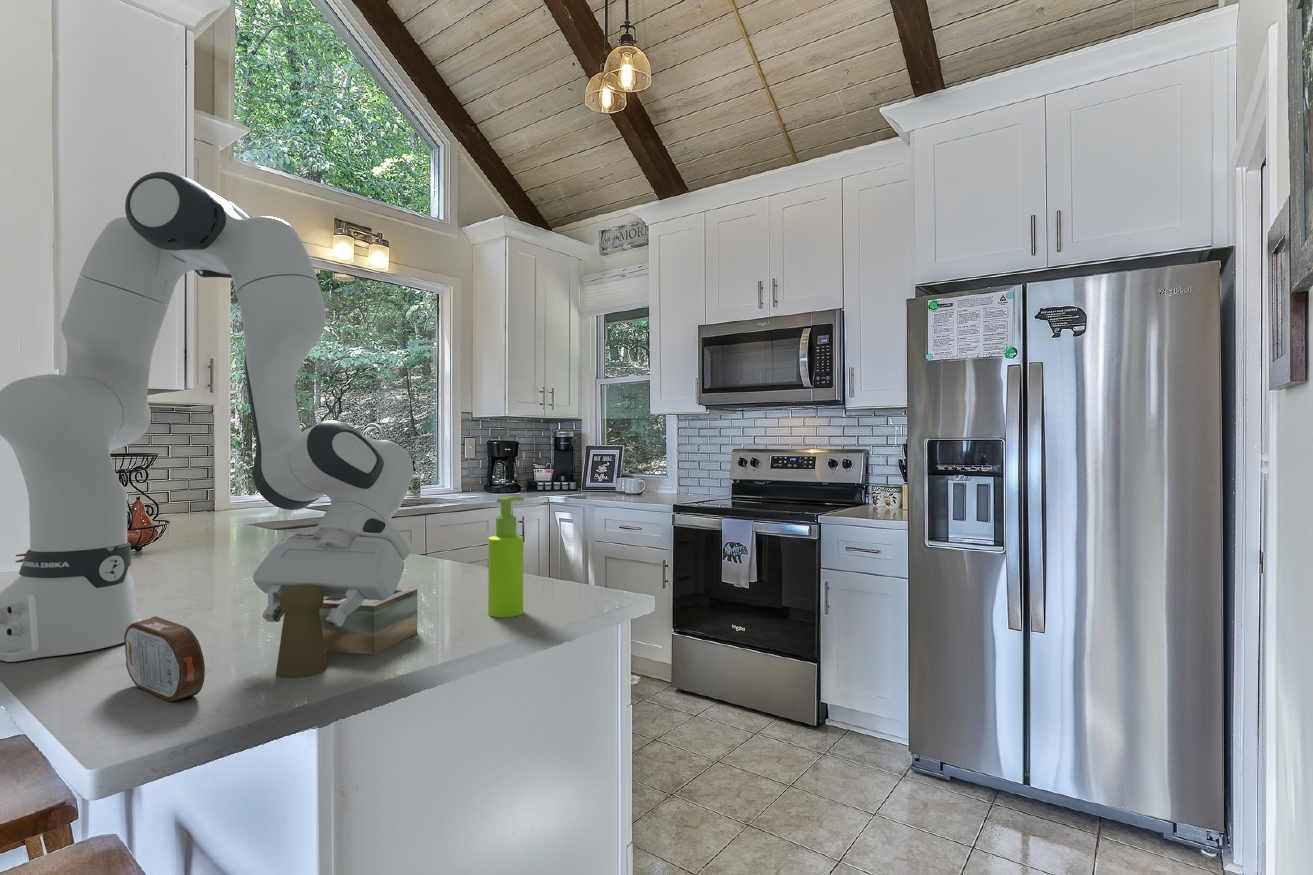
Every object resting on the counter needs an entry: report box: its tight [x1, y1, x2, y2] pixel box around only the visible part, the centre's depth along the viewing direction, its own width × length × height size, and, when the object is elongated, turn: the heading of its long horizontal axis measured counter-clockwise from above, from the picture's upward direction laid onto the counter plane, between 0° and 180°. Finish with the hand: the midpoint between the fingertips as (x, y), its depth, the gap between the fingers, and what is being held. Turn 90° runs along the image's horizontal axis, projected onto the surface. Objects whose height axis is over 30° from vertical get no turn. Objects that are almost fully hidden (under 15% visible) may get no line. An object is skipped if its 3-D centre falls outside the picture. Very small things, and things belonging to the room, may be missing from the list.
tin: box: [124, 616, 206, 703], centre depth 83 cm, size 15×3×8 cm, turn 58°
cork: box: [275, 584, 328, 679], centre depth 91 cm, size 6×6×11 cm
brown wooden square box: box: [319, 587, 418, 655], centre depth 103 cm, size 11×11×7 cm
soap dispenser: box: [487, 496, 525, 619], centre depth 120 cm, size 6×7×20 cm
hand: (300, 621), depth 90 cm, fingers open, 8 cm apart
